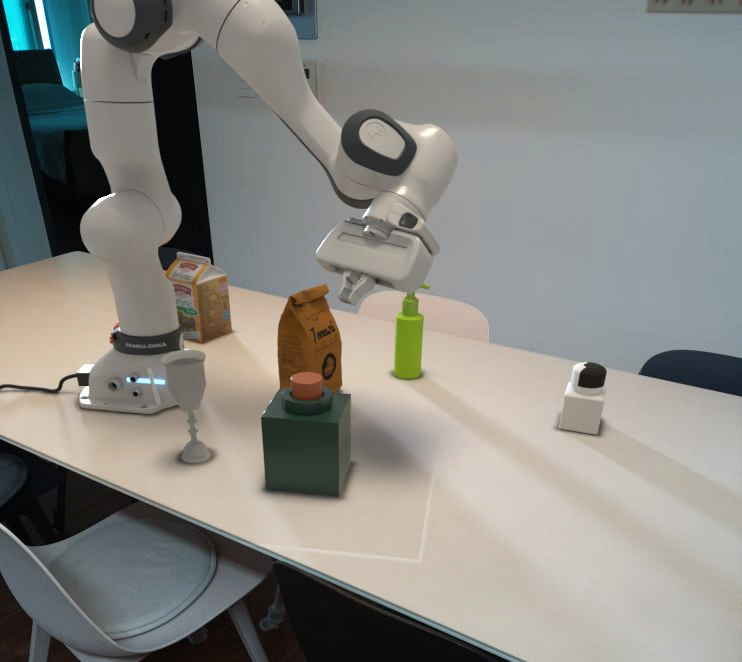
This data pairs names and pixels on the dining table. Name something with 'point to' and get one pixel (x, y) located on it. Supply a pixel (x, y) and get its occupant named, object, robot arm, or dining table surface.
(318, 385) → the red push button
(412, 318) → the soap dispenser
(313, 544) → the dining table surface
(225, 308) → the milk carton
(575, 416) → the medicine bottle
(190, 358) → the chalice
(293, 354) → the coffee package
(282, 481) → the push button housing
